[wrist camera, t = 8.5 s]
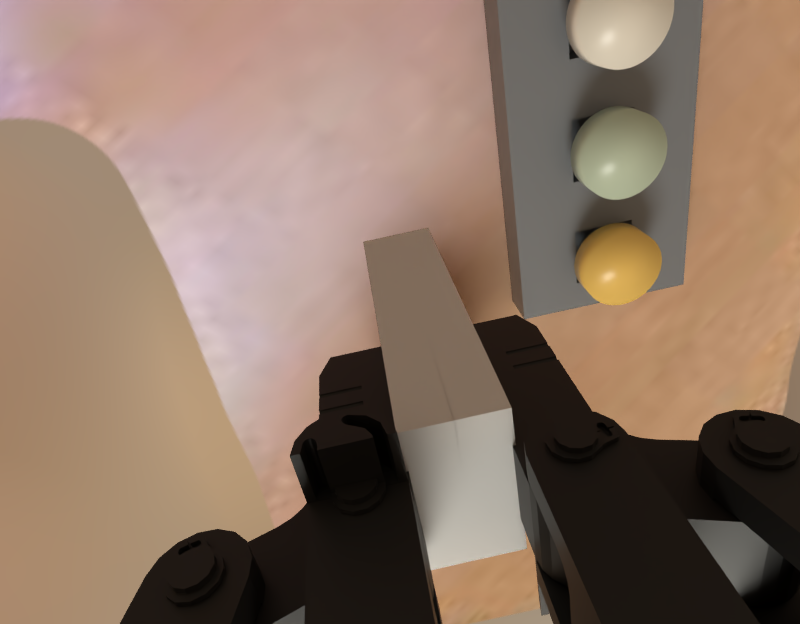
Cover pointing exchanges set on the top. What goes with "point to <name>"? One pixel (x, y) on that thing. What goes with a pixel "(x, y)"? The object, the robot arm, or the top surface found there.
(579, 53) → the button cream
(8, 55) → the top surface
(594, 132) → the button sage
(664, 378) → the top surface
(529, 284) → the panel
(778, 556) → the robot arm
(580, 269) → the button amber
